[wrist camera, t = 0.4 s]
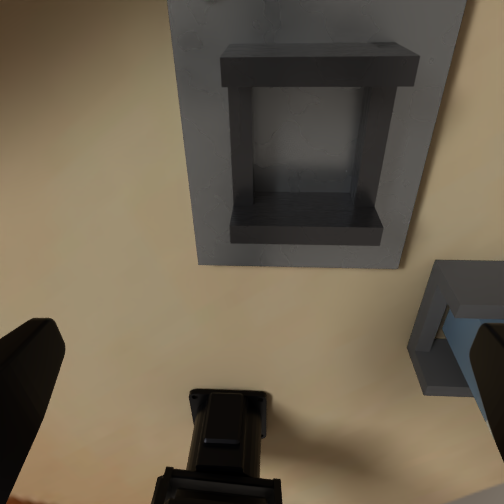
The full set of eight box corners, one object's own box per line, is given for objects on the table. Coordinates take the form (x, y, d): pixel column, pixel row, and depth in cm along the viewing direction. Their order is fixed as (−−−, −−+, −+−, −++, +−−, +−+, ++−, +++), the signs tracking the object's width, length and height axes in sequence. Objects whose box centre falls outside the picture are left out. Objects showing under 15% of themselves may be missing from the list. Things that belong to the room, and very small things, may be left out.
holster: (505, 350, 28) (535, 399, 25) (406, 347, 28) (423, 395, 25) (553, 262, 23) (598, 308, 20) (435, 259, 24) (460, 304, 20)
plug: (485, 329, 27) (552, 441, 20) (442, 328, 27) (493, 439, 21) (506, 286, 25) (589, 396, 18) (458, 284, 25) (523, 394, 18)
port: (393, 258, 24) (414, 309, 20) (201, 255, 25) (187, 304, 21) (476, -82, 15) (543, -101, 11) (164, -74, 15) (128, -90, 12)
